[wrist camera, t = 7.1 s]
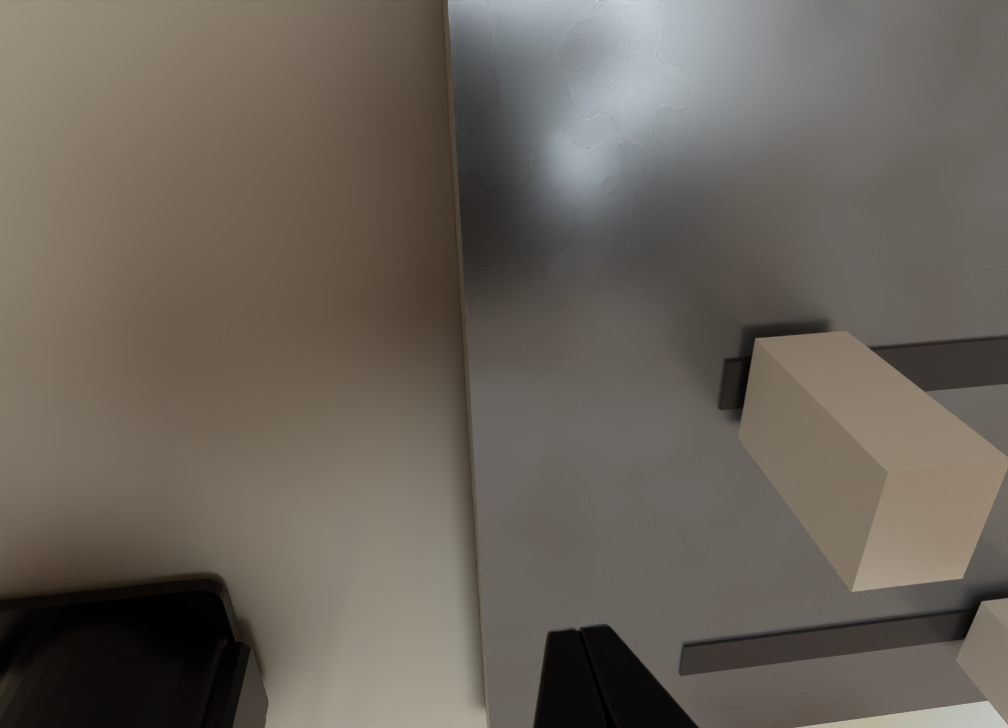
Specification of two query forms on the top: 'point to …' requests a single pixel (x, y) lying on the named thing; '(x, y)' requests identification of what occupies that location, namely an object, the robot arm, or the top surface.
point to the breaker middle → (868, 460)
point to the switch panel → (717, 326)
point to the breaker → (988, 653)
